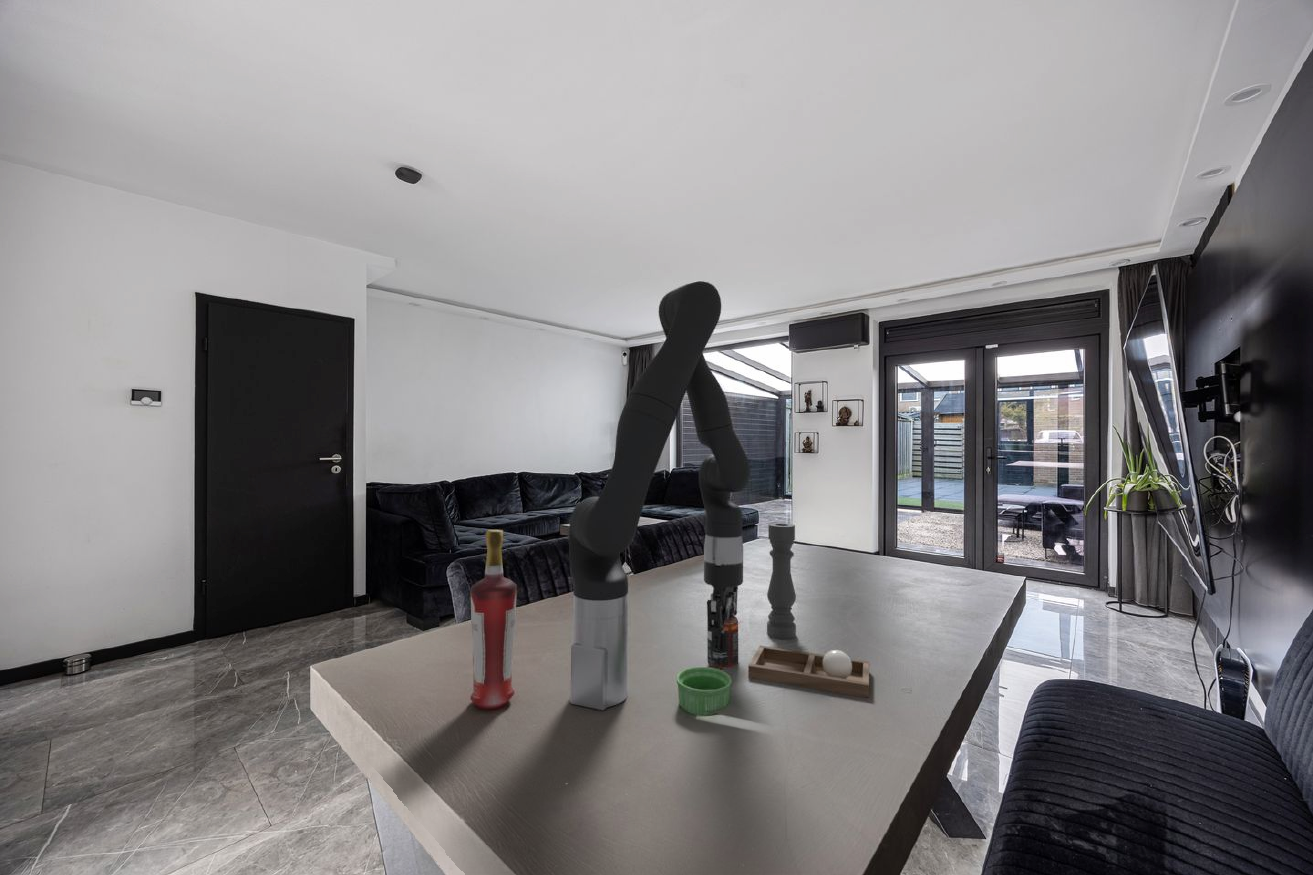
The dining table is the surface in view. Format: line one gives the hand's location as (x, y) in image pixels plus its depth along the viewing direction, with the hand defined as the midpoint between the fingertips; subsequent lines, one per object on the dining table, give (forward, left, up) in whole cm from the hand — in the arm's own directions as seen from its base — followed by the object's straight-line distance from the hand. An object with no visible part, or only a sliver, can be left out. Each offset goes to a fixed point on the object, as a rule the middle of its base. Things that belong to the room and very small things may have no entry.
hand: (722, 645), depth 102 cm
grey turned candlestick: (+19, -8, -4) cm, 21 cm away
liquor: (-29, +31, -4) cm, 43 cm away
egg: (0, -21, -3) cm, 21 cm away
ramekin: (-16, -1, -4) cm, 17 cm away
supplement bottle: (0, 0, -4) cm, 4 cm away
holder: (0, -16, -4) cm, 17 cm away
